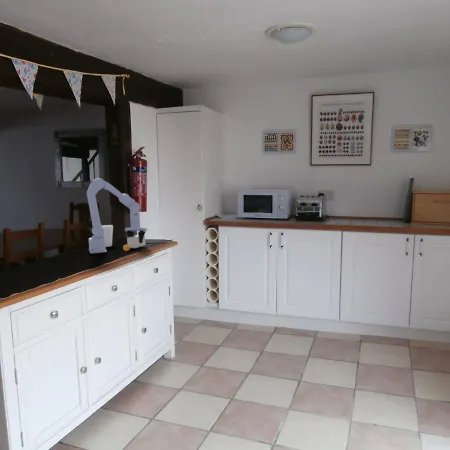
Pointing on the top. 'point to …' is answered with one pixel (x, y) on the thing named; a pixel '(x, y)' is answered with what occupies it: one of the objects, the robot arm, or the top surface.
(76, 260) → the top surface
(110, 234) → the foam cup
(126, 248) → the ball
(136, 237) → the white rectangular block
